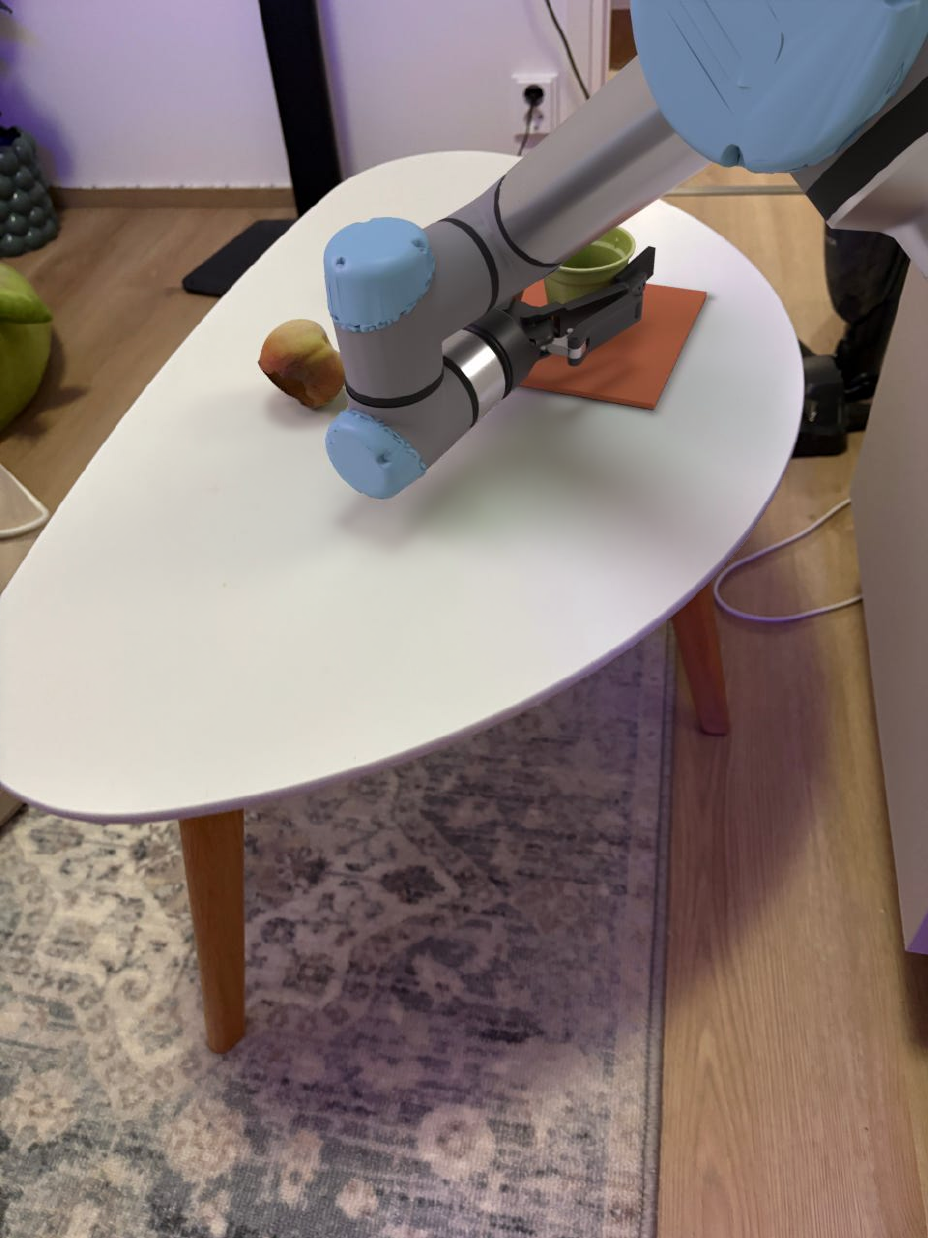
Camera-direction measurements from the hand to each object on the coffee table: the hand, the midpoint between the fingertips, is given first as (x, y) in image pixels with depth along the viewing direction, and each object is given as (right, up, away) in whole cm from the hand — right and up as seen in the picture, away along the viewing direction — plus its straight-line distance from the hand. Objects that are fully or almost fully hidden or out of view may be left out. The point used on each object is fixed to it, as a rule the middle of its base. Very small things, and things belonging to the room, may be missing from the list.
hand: (608, 249), depth 91 cm
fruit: (-29, -15, -1) cm, 32 cm away
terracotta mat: (-2, -7, +3) cm, 8 cm away
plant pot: (-2, -7, +2) cm, 8 cm away
